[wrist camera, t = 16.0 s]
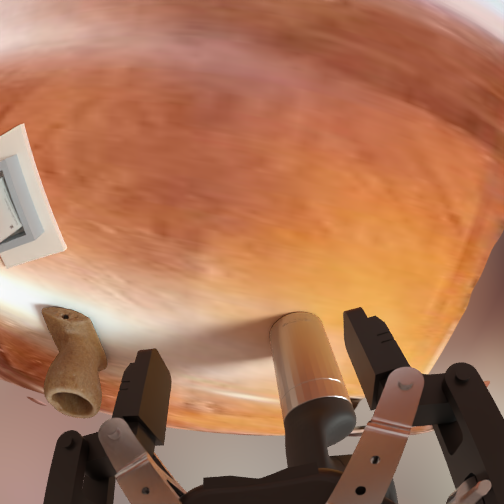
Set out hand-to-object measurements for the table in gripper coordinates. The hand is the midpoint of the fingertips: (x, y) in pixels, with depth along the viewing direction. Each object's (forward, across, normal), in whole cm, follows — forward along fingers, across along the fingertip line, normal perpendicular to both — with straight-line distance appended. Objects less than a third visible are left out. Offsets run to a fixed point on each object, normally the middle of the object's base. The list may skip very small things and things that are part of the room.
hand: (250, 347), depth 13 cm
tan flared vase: (+30, +33, +21) cm, 50 cm away
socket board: (+30, +34, -6) cm, 46 cm away
